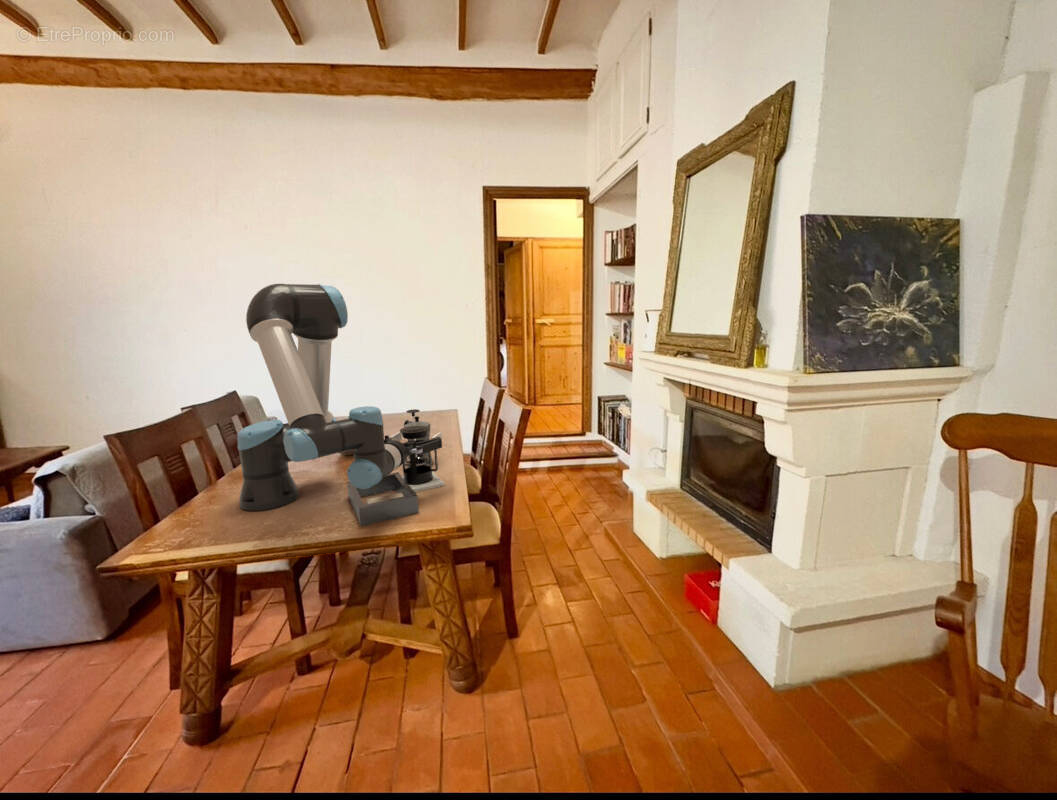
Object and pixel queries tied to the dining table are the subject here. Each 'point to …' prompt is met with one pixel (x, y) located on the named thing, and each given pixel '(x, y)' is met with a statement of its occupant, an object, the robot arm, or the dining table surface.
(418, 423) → the coffeepot
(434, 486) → the mat
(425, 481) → the french press
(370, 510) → the open box
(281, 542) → the dining table surface
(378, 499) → the offcut stack
